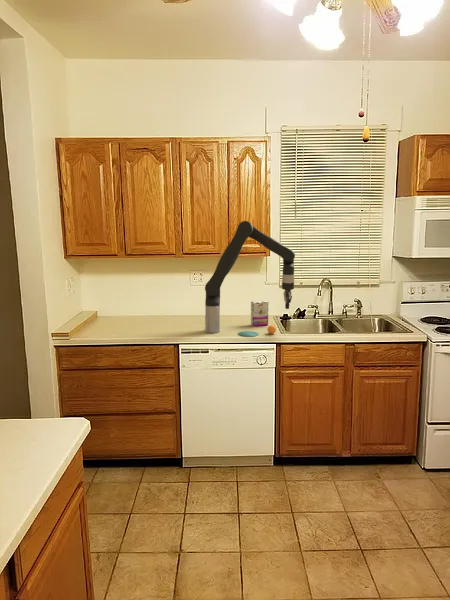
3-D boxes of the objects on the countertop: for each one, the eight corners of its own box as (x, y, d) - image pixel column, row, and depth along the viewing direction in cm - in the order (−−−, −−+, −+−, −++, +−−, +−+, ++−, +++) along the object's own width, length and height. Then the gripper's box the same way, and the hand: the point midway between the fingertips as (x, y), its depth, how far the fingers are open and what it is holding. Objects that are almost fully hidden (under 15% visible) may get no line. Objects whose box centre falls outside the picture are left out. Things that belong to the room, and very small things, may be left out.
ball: (268, 334, 281) (268, 326, 280) (266, 332, 286) (266, 324, 285) (276, 334, 282) (277, 326, 281) (274, 332, 287) (275, 324, 286)
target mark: (239, 337, 276) (239, 336, 275) (236, 331, 288) (236, 331, 288) (260, 336, 277) (260, 336, 277) (256, 331, 290) (256, 330, 290)
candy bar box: (265, 323, 309) (266, 300, 306) (268, 325, 304) (268, 302, 301) (250, 324, 306) (250, 301, 303) (252, 326, 301) (253, 302, 298)
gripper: (279, 280, 285) (278, 306, 288) (284, 283, 272) (283, 311, 275) (291, 279, 286) (290, 306, 289) (296, 283, 273) (295, 310, 276)
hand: (287, 308), depth 282 cm, fingers closed
